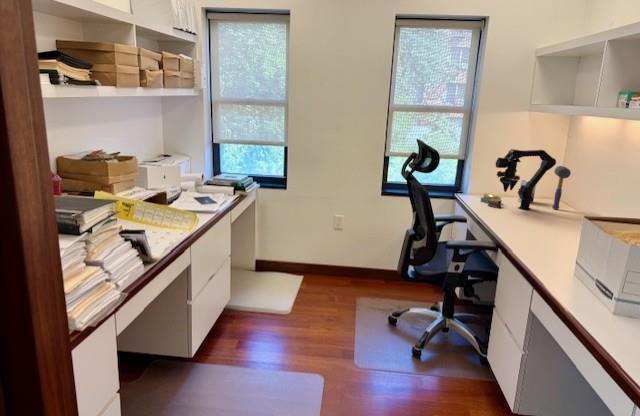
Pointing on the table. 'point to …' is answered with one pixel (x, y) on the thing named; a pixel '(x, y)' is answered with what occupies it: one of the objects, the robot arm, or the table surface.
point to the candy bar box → (524, 182)
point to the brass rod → (491, 196)
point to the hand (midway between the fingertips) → (508, 191)
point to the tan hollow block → (494, 203)
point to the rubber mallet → (560, 184)
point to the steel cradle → (485, 200)
